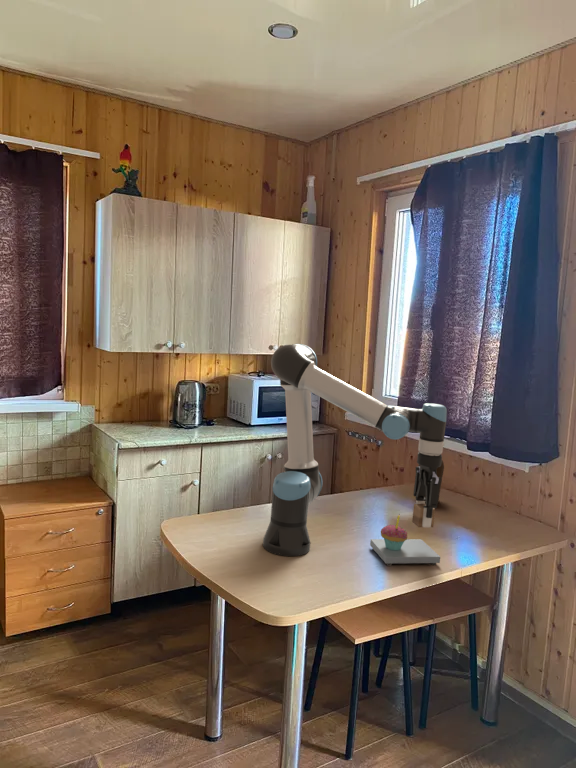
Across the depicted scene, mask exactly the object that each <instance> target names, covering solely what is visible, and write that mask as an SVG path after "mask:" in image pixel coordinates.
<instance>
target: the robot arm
mask: <svg viewBox="0 0 576 768" xmlns="http://www.w3.org/2000/svg"><path fill="white" fill-rule="evenodd" d="M270 365H271V370H272V373H273V374H274V375H275V377H277V378H278V379H279V382H280V386H281V387H282V388H283V389H284V393H285V396H284V397H285V414H286V415H285V416H286V436H287V455H288V456H287V457H288V458H287V459H288V460H287V461H286V462H285V463H284V465H283V467H284V471H283V472H280V473H277V475H275V477H274V479H273V484H272V497H271V508H270V510H271V511H270V520H269V524H268V526H267V528H266V531H265V534H264V535H263V539H262V547H263V548H264V549H265V550H266V551H267V552H269V553H271V554H274V555H278V556H284V557H298V556H302V555H306V554H307V553H308V552H309V551H310V549H311V540H310V536H309V535H310V534H309V531H308V527H307V524H308V523H307V522H308V512H309V510H308V509H309V506H310V504H311V503H313V501H314V500H316V498H317V497H319V495H320V494H321V491H322V489H323V477H322V474H321V473H320V470H319V463H318V461H317V460H315V458H314V457H315V455H314V454H315V453H314V435H313V416H312V415H313V412H312V409H313V408H312V394H314V395H316V396H317V397H320V398H321V399H324V400H325V401H327V402H329V403H330V404H332V405H335V406H336V407H338V408H340V409H342V410H343V411H346V412H347V413H349V414H350V415H352V416H354V417H356V418H358V419H360V420H361V421H364V422H365V423H367V424H369V425H371V426H373V427H374V428H376V429H377V430H379V431H381V432H383V434H384V436H386V437H387V439H390V440H400V439H402V438H404V437H405V436H406V435H407V434H408V433H409V432H411V433H419V438H418V448H417V450H418V452H417V458H416V463H417V464H418V465H421V466H420V467H418V466H416V467H415V476H414V485H413V486H414V487H413V494H412V495H413V497H415V500H416V501H415V502H416V503H415V504H426V506H423V507H424V511H423V521H422V527H421V528H432V527H431V521H432V512H433V508H434V509H436V508H438V506H439V505H438V503H439V501H438V495H439V486H440V482H441V478H440V477H437V468H438V467H440V466H441V462H442V461H443V455H442V454H443V450H444V446H445V443H444V441H445V435H446V433H445V432H446V425H447V414H448V413H447V412H448V410H447V408H446V406H445V405H443V404H439V403H429V402H427V403H423V405H422V408H414V407H413V408H412V407H406V406H405V407H404V406H399V405H398V406H397V405H387V404H386V403H383V402H382V401H380V400H378V399H376V398H374V397H373V396H372V395H369V394H367V393H365V392H363V391H361V390H360V389H357V388H356V387H354V386H352V385H350V384H349V383H346V382H345V381H343V380H342V379H340V378H337V377H336V376H333V375H332V374H331V373H328V372H327V371H325V370H322V369H321V368H319V367H318V357H317V355H316V353H315V351H314V350H313V349H312V348H311V347H310V346H308V345H306V344H302V343H294V344H293V343H292V344H285V345H282V346H279V347H278V348H276V350H275V351H274V353H273V354H272V355H271V359H270ZM311 393H312V394H311ZM419 473H420V474H419ZM425 493H426V499H425ZM439 496H440V495H439ZM422 500H426V503H425V501H422Z"/></svg>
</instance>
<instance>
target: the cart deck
mask: <svg viewBox="0 0 576 768" xmlns="http://www.w3.org/2000/svg"><path fill="white" fill-rule="evenodd" d="M369 542H370V543H369V545H370V547H371V548H372V551H374V552H375V553H376V554H377V555H378V557H380V558H381V560H382V561H383V562H384V565H385V566H388V567H389V566H390V567H391V566H392V564H429V565H430V566H437V564H440V562H441V556H440V555H439V554H438V553H437V552H436V551H435V550H434V549H433V548H432V547H431V546H430V545H428V543H426V542H425V541H424V540H423V539H421V538H420V539H417V538H415V539H414V538H413V539H409V538H407V540H405V541H404V543H403V545H402V547H401V549H400V550H396V551H395V550H390V549H388V548H386V546H385V541H384V538H381V539H380V538H373V539H370V541H369Z"/></svg>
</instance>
